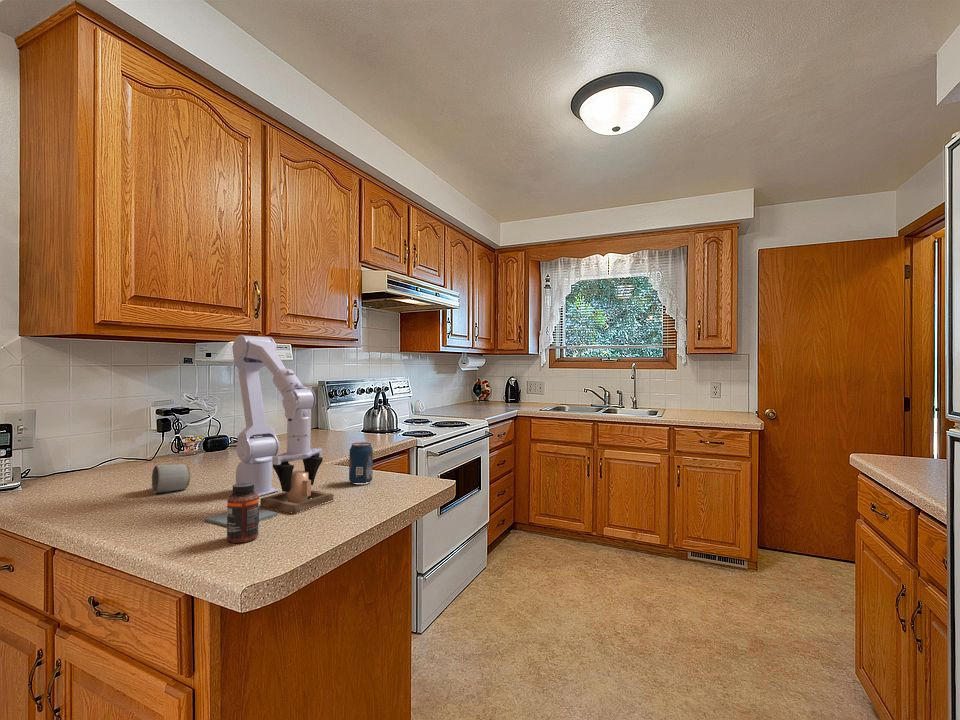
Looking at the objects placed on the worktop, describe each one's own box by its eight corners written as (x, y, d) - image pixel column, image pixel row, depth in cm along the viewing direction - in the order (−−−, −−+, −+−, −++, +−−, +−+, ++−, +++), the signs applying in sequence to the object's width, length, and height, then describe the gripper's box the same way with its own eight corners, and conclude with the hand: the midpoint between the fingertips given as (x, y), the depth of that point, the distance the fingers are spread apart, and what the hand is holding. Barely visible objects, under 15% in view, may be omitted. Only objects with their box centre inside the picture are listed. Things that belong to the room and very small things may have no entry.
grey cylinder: (191, 490, 136) (192, 463, 136) (157, 496, 130) (158, 467, 130) (180, 484, 143) (180, 458, 143) (147, 489, 137) (148, 462, 137)
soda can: (351, 480, 150) (351, 442, 150) (373, 480, 151) (374, 442, 151) (347, 486, 143) (347, 445, 143) (370, 485, 144) (371, 445, 144)
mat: (204, 520, 110) (204, 518, 110) (247, 508, 120) (247, 506, 120) (235, 529, 105) (235, 526, 105) (277, 515, 115) (277, 512, 115)
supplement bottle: (263, 533, 102) (264, 480, 103) (251, 544, 97) (252, 487, 97) (235, 533, 102) (236, 480, 102) (220, 544, 96) (222, 487, 96)
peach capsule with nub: (282, 505, 123) (283, 473, 123) (298, 500, 128) (299, 470, 128) (300, 508, 120) (301, 476, 120) (316, 503, 125) (316, 473, 125)
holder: (260, 506, 122) (260, 498, 122) (299, 494, 133) (299, 487, 133) (295, 514, 116) (295, 505, 116) (333, 501, 127) (333, 493, 127)
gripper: (286, 440, 116) (285, 496, 116) (330, 433, 129) (330, 483, 129) (266, 438, 120) (266, 492, 119) (312, 431, 132) (311, 480, 132)
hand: (298, 488), depth 124 cm, fingers open, 7 cm apart
